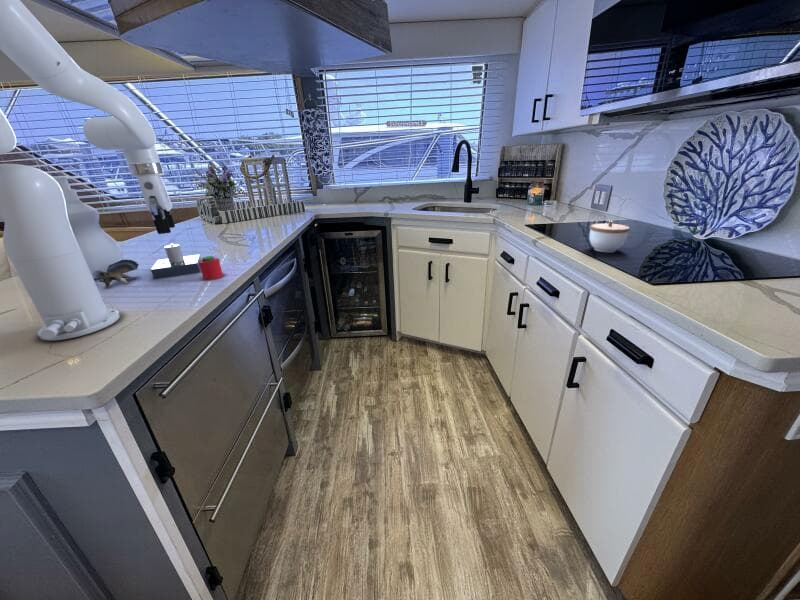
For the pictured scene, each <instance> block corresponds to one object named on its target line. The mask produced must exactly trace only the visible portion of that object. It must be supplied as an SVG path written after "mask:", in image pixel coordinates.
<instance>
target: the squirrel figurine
mask: <svg viewBox="0 0 800 600" xmlns="http://www.w3.org/2000/svg"><path fill="white" fill-rule="evenodd" d="M138 268H139V263H137V261H135V260H132V259H123V260H120V261H118V262H116V263H114V264H111V265H109V266H108V269H107V272H103V271H100V270H97V271H95V272H93V275H94V276H95V277H97V279H101V280H99V281H98V282H99V283H104V284H105V289H108V288H110V286H111V283H112V282H113V281H116V282H121V283H124V284H126V285H128V282H127V280H126V279H137V277H134V276H130V275H128V274H126V273H130V272H133V271H136V270H138Z"/></svg>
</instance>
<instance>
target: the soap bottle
mask: <svg viewBox="0 0 800 600" xmlns="http://www.w3.org/2000/svg"><path fill="white" fill-rule="evenodd" d="M51 177H53V178H54V179H55V180H56V181H57V183H58V184H59V186H60V187H61V189H62V192H63V194H64V198H65V203H66V209H67V215H68V219H69V222H70V225H71V228H72V231H73V234H74V236H75V238H76V241H77V243H78V245H79V248H80V250H81V252H82V254H83V256H84V259H85V261H86V263H87V265H88V268H89V270H90V272H91V275H92V277H93V279H94V280H95V279H96V280H97V279H98V278H97V277H95V276H94V275H93V272H95V271H97V270H100V271H103V272H107V269H108V266H109V265H111V264H114V263H116V262H118V261H120V260H124V256H123V255H124V254H123V249H122V248H121V246H120V245H119V244H118V241H117V240H116V239H114V238H113V237H112V236H111V235H109V234H108V233H107V232H105V231H104V229H102V227H101V225H100V223H99V222H100V213H99V211H98V209H97V208H94V207H93V206H91V205H89V204H86V203H84V202H83V201H82V200H81V199H79V195H78V193H77V191H76V188H71V186H70V183H69V181H68V180H76V179H77V178H76V177H74V176H70V175H55V176H52V175H51Z"/></svg>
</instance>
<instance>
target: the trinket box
mask: <svg viewBox="0 0 800 600" xmlns="http://www.w3.org/2000/svg"><path fill="white" fill-rule="evenodd" d="M613 221H614V220H608V223H607V222H605V223H604V222H603V223H601V222H600V223H593V224H590V227H589V229H590V230H589V235H588V236H589V237H588V238H589V244H590V246H591V247H592V248H593V250H594V251H596V252H600V253H615V252H616V251H618V250H619V249H620V248H622V247H623V245H624V244H625V243H626V241H627V238H628V235H629V232H630V230H631V228H630V226H628V225H625V224H619V223H614V222H613Z"/></svg>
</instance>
